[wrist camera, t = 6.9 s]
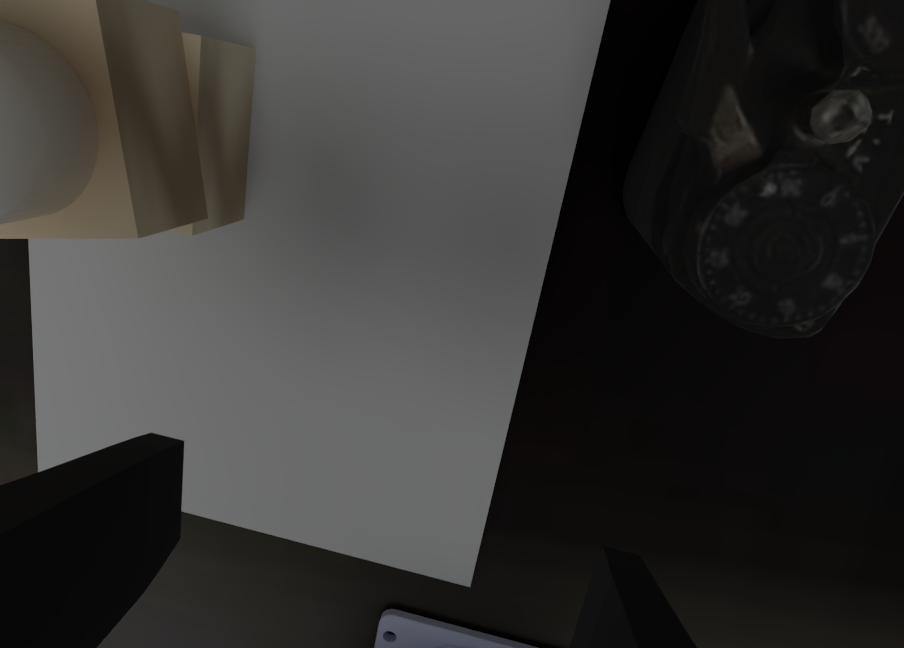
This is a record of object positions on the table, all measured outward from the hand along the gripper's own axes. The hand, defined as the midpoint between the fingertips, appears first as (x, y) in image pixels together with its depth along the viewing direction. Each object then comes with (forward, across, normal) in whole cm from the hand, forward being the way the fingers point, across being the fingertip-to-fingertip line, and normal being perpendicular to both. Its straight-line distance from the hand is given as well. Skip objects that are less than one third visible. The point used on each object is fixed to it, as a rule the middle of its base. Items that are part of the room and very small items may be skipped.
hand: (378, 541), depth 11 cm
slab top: (+7, +10, -5) cm, 13 cm away
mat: (+10, +6, -1) cm, 12 cm away
